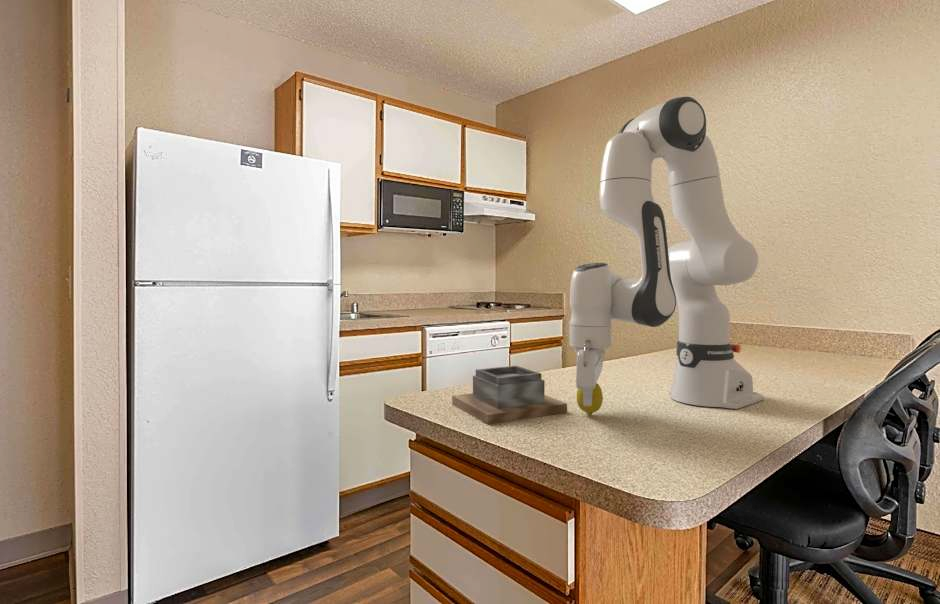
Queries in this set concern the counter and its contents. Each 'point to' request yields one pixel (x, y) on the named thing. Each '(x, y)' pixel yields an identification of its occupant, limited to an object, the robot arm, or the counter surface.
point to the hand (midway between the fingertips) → (589, 401)
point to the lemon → (595, 402)
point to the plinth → (507, 412)
